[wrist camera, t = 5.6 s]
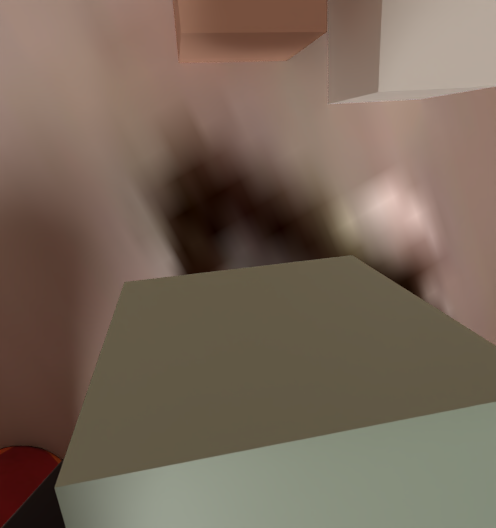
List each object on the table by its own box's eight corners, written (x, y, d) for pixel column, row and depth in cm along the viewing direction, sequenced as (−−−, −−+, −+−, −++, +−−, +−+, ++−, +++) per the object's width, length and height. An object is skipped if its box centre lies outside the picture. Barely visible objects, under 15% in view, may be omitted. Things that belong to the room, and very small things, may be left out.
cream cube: (427, -15, 18) (517, -70, 13) (419, 99, 20) (496, 86, 15) (327, -15, 17) (385, -73, 13) (327, 104, 19) (378, 91, 14)
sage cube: (352, 255, 9) (563, 388, 4) (346, 433, 10) (494, 680, 6) (124, 281, 8) (54, 486, 3) (157, 470, 9) (142, 794, 5)
